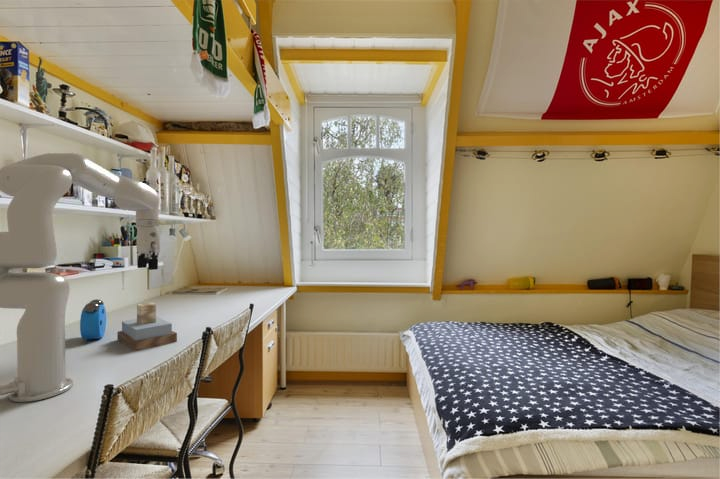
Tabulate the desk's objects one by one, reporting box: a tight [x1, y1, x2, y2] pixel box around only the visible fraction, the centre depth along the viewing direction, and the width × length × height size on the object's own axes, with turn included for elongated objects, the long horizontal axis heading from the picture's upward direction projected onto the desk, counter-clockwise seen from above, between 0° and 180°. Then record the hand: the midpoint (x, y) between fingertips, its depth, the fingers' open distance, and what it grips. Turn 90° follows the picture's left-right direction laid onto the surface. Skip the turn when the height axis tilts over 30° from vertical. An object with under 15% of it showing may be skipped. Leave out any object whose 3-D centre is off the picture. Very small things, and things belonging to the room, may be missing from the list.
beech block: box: [136, 302, 157, 325], centre depth 137 cm, size 5×5×7 cm
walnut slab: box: [116, 330, 178, 352], centre depth 138 cm, size 14×19×4 cm
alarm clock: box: [79, 298, 107, 342], centre depth 140 cm, size 13×6×15 cm, turn 25°
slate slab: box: [121, 315, 173, 341], centre depth 137 cm, size 12×17×4 cm
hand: (147, 268), depth 138 cm, fingers open, 9 cm apart
